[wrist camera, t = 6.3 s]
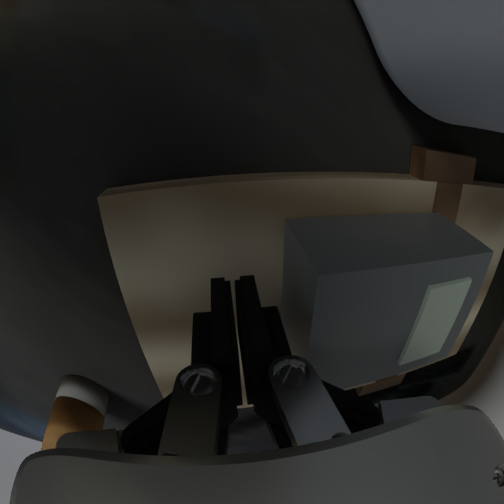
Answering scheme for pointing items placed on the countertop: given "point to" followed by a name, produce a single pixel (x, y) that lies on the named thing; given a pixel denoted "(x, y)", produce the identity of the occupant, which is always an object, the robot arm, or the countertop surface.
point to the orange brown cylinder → (75, 409)
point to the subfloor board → (266, 239)
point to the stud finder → (377, 292)
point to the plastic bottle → (443, 56)
